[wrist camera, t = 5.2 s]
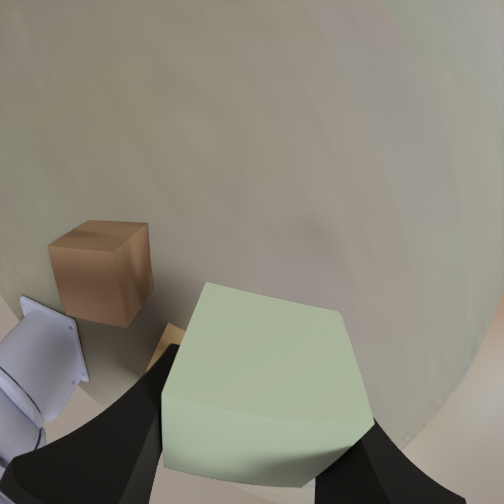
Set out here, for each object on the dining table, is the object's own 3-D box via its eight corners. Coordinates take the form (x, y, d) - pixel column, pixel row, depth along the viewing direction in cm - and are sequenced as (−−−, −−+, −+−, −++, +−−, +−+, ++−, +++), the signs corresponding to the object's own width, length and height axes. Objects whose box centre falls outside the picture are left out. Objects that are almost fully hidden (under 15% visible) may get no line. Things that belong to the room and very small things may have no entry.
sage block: (296, 393, 12) (301, 487, 7) (191, 373, 12) (163, 466, 7) (339, 311, 10) (374, 424, 5) (206, 281, 10) (161, 394, 5)
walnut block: (154, 287, 20) (127, 328, 15) (98, 280, 20) (65, 314, 15) (148, 222, 18) (113, 252, 13) (89, 220, 18) (47, 245, 13)
